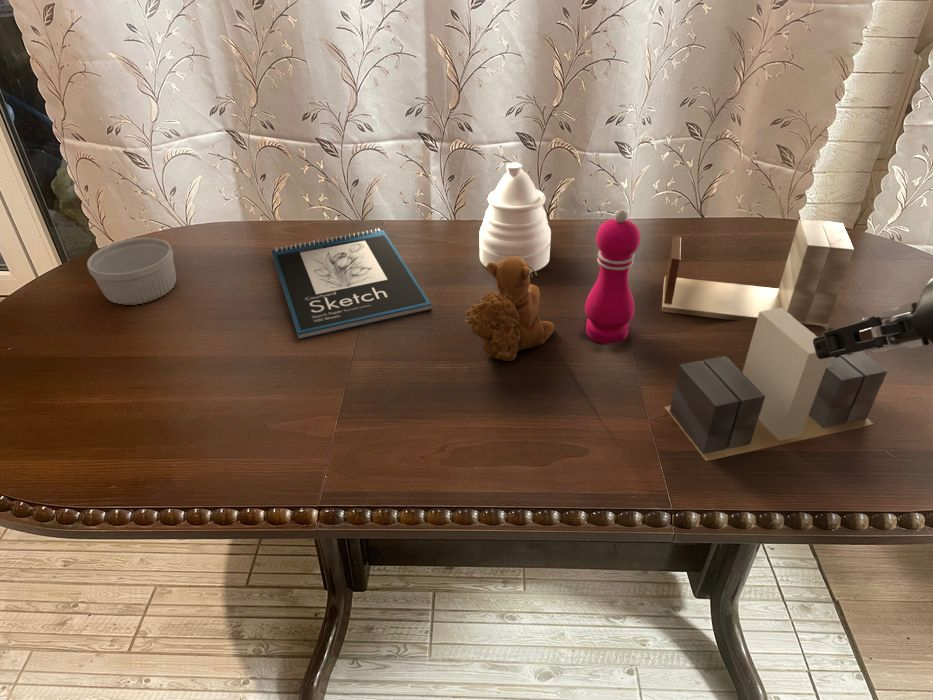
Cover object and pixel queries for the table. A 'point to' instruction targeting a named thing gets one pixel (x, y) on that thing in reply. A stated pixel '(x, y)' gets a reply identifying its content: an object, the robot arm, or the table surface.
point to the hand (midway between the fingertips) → (854, 341)
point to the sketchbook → (346, 283)
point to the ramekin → (134, 270)
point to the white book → (784, 371)
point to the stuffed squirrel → (509, 312)
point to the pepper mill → (612, 281)
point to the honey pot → (515, 222)
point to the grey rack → (739, 404)
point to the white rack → (800, 293)
